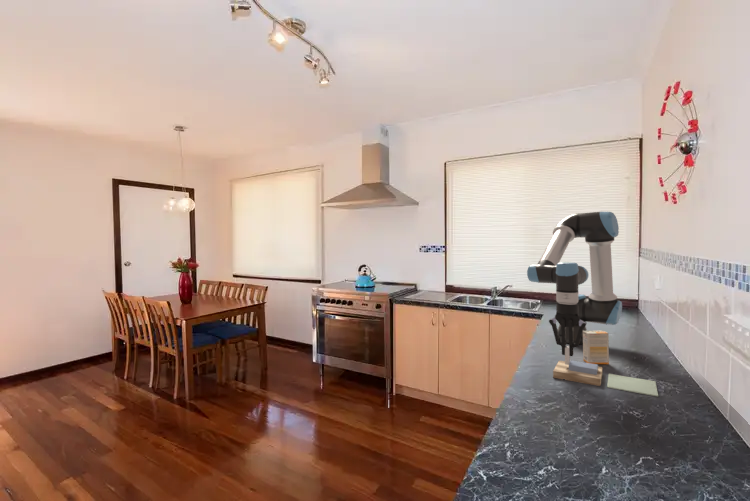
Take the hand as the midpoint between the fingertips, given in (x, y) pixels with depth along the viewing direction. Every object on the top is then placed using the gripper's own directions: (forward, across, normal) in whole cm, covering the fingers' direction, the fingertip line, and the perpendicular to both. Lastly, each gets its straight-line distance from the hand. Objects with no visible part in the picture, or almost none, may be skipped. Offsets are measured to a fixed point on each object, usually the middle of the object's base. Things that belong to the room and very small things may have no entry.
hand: (567, 363), depth 138 cm
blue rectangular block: (+1, +5, 0) cm, 5 cm away
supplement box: (+4, +8, +20) cm, 22 cm away
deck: (+4, +4, 0) cm, 5 cm away
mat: (+4, +20, 0) cm, 20 cm away
